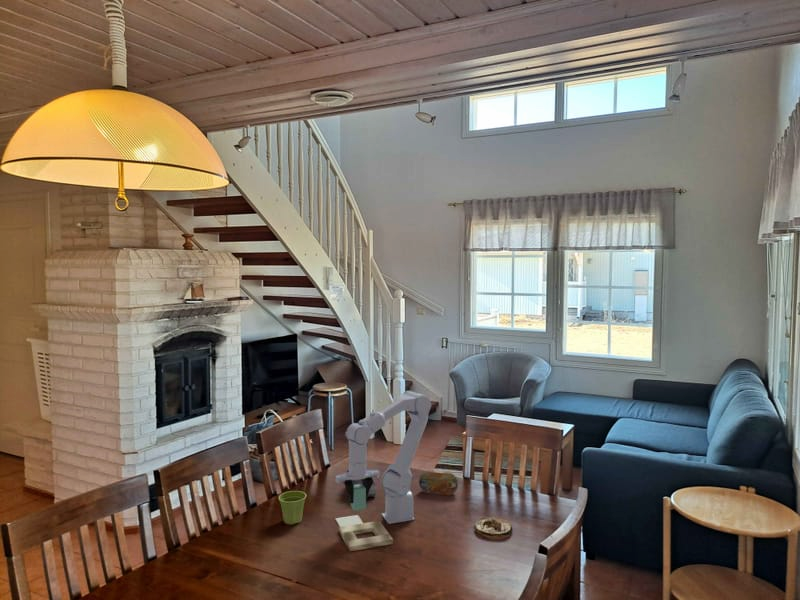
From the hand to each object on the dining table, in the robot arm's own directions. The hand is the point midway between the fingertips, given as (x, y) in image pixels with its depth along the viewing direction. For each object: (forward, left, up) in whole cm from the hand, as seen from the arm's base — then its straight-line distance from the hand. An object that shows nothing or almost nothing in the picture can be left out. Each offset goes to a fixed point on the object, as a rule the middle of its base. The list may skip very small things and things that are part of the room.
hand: (358, 501), depth 184 cm
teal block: (0, 0, -2) cm, 2 cm away
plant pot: (+19, -14, -10) cm, 26 cm away
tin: (-38, -19, -10) cm, 44 cm away
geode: (-9, -32, -10) cm, 35 cm away
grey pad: (+1, -6, -10) cm, 12 cm away
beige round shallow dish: (-42, +16, -11) cm, 46 cm away
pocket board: (-1, +6, -10) cm, 11 cm away
